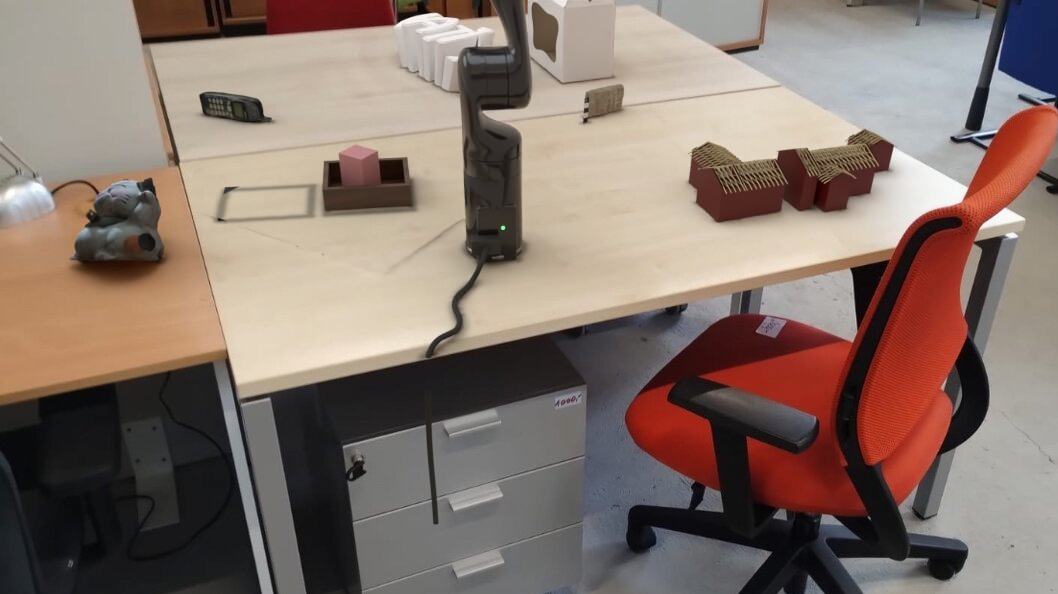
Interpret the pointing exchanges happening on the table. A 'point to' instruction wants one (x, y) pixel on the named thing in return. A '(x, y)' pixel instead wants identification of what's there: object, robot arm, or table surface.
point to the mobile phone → (232, 106)
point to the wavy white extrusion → (437, 46)
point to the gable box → (573, 37)
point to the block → (359, 166)
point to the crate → (368, 187)
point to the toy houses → (786, 177)
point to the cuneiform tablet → (603, 100)
